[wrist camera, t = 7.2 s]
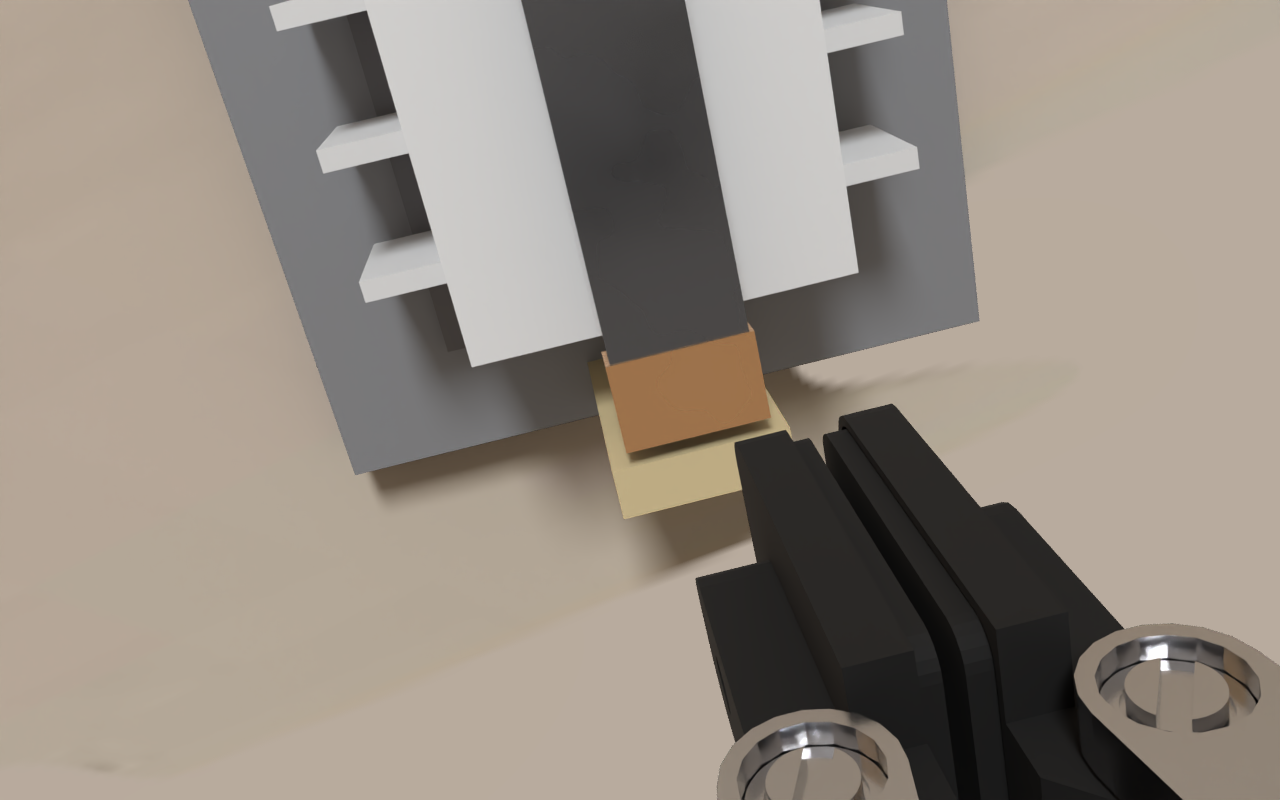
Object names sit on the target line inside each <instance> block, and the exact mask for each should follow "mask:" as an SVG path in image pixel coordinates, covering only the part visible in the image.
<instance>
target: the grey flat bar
mask: <svg viewBox="0 0 1280 800" xmlns="http://www.w3.org/2000/svg"><path fill="white" fill-rule="evenodd" d="M521 4H522V8H523V12H524V16H525V20H526V24H527V28H528V32H529V37H530V41H531V45H532V49H533V53H534V57H535V61H536V65H537V69H538V74H539V78H540V82H541V86H542V90H543V94H544V98H545V102H546V107H547V111H548V115H549V119H550V123H551V127H552V131H553V135H554V139H555V144H556V148H557V152H558V156H559V160H560V164H561V168H562V172H563V177H564V181H565V185H566V189H567V193H568V197H569V201H570V205H571V209H572V214H573V218H574V222H575V226H576V230H577V234H578V238H579V242H580V247H581V251H582V255H583V259H584V263H585V267H586V271H587V275H588V279H589V284H590V288H591V292H592V296H593V300H594V304H595V308H596V312H597V317H598V321H599V325H600V329H601V333H602V337H603V341H604V345H605V349H606V351H604V352H601V353H602V357H603V361H604V365H605V369H606V373H607V377H608V381H609V385H610V389H611V394H612V398H613V402H614V406H615V410H616V414H617V418H618V422H619V426H620V430H621V434H622V438H623V442H624V446H625V450H626V454H627V453H631V452H635V451H639V450H643V449H647V448H651V447H656V446H660V445H664V444H668V443H672V442H676V441H680V440H684V439H688V438H692V437H696V436H700V435H704V434H708V433H712V432H716V431H720V430H724V429H728V428H732V427H736V426H740V425H744V424H748V423H752V422H756V421H760V420H764V419H768V418H771V415H770V409H769V404H768V399H767V394H766V389H765V384H764V378H763V373H762V368H761V363H760V358H759V352H758V347H757V342H756V337H755V332H754V330H753V328H752V327H751V326H750V324H749V323H748V322H747V317H746V312H745V307H744V302H743V297H742V291H741V286H740V281H739V276H738V271H737V266H736V261H735V255H734V250H733V245H732V240H731V235H730V230H729V225H728V219H727V214H726V209H725V204H724V199H723V194H722V189H721V183H720V178H719V173H718V168H717V163H716V158H715V153H714V147H713V142H712V137H711V132H710V127H709V122H708V117H707V111H706V106H705V101H704V96H703V91H702V86H701V80H700V75H699V70H698V65H697V60H696V55H695V50H694V44H693V39H692V34H691V29H690V24H689V19H688V14H687V8H686V3H685V0H521Z"/></svg>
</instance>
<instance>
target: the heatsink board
mask: <svg viewBox="0 0 1280 800" xmlns="http://www.w3.org/2000/svg"><path fill="white" fill-rule="evenodd" d="M188 1H189V4H190V7H191V10H192V13H193V16H194V18H195V21H196V24H197V27H198V30H199V33H200V35H201V38H202V41H203V44H204V47H205V50H206V52H207V55H208V58H209V61H210V64H211V67H212V70H213V72H214V75H215V78H216V81H217V84H218V87H219V89H220V92H221V95H222V98H223V101H224V104H225V106H226V109H227V112H228V115H229V118H230V121H231V123H232V126H233V129H234V132H235V135H236V138H237V141H238V143H239V146H240V149H241V152H242V155H243V158H244V160H245V163H246V166H247V169H248V172H249V175H250V177H251V180H252V183H253V186H254V189H255V192H256V194H257V197H258V200H259V203H260V206H261V209H262V212H263V214H264V217H265V220H266V223H267V226H268V229H269V231H270V234H271V237H272V240H273V243H274V246H275V248H276V251H277V254H278V257H279V260H280V263H281V265H282V268H283V271H284V274H285V277H286V280H287V282H288V285H289V288H290V291H291V294H292V297H293V300H294V302H295V305H296V308H297V311H298V314H299V317H300V319H301V322H302V325H303V328H304V331H305V334H306V336H307V339H308V342H309V345H310V348H311V351H312V353H313V356H314V359H315V362H316V365H317V368H318V371H319V373H320V376H321V379H322V382H323V385H324V388H325V390H326V393H327V396H328V399H329V402H330V405H331V407H332V410H333V413H334V416H335V419H336V422H337V424H338V427H339V430H340V433H341V436H342V439H343V442H344V444H345V447H346V450H347V453H348V456H349V459H350V461H351V464H352V467H353V470H354V473H355V475H358V474H362V473H366V472H370V471H374V470H378V469H382V468H386V467H390V466H394V465H398V464H402V463H406V462H410V461H414V460H418V459H422V458H426V457H430V456H435V455H439V454H443V453H447V452H451V451H455V450H459V449H463V448H467V447H471V446H475V445H479V444H483V443H487V442H491V441H495V440H499V439H503V438H507V437H512V436H516V435H520V434H524V433H528V432H532V431H536V430H540V429H544V428H548V427H552V426H556V425H560V424H564V423H568V422H572V421H576V420H580V419H584V418H588V417H593V416H597V415H599V416H600V421H601V425H602V430H603V434H604V439H605V443H606V448H607V452H608V457H609V461H610V465H611V470H612V474H613V478H614V482H615V486H616V490H617V494H618V498H619V502H620V506H621V510H622V514H623V518H624V519H628V518H632V517H636V516H640V515H644V514H648V513H652V512H656V511H660V510H664V509H668V508H672V507H676V506H680V505H684V504H688V503H692V502H696V501H700V500H704V499H708V498H712V497H716V496H720V495H724V494H728V493H732V492H736V491H740V490H742V486H741V481H740V476H739V471H738V466H737V461H736V456H735V448H734V442H738V441H742V440H746V439H750V438H754V437H758V436H762V435H766V434H770V433H774V432H779V431H783V430H786V431H787V432H788V433H789V435H790V437H791V439H792V436H791V430H790V427H789V425H788V424H787V422H786V420H785V419H784V417H783V415H782V414H781V412H780V410H779V409H778V407H777V406H776V404H775V402H774V401H773V399H772V397H771V396H770V394H769V392H768V391H767V389H766V388H765V389H766V394H767V399H768V404H769V409H770V415H771V418H768V419H764V420H760V421H756V422H752V423H748V424H744V425H740V426H736V427H732V428H728V429H724V430H720V431H716V432H712V433H708V434H704V435H700V436H696V437H692V438H688V439H684V440H680V441H676V442H672V443H668V444H664V445H660V446H656V447H651V448H647V449H643V450H639V451H635V452H631V453H627V454H626V450H625V446H624V442H623V438H622V434H621V430H620V426H619V422H618V418H617V414H616V410H615V406H614V402H613V398H612V394H611V389H610V385H609V381H608V377H607V373H606V369H605V365H604V361H603V357H602V353H601V352H604V351H606V349H605V345H604V341H603V337H602V333H601V329H600V325H599V321H598V317H597V312H596V308H595V304H594V300H593V296H592V292H591V288H590V284H589V279H588V275H587V271H586V267H585V263H584V259H583V255H582V251H581V247H580V242H579V238H578V234H577V230H576V226H575V222H574V218H573V214H572V209H571V205H570V201H569V197H568V193H567V189H566V185H565V181H564V177H563V172H562V168H561V164H560V160H559V156H558V152H557V148H556V144H555V139H554V135H553V131H552V127H551V123H550V119H549V115H548V111H547V107H546V102H545V98H544V94H543V90H542V86H541V82H540V78H539V74H538V69H537V65H536V61H535V57H534V53H533V49H532V45H531V41H530V37H529V32H528V28H527V24H526V20H525V16H524V12H523V8H522V4H521V0H188ZM685 3H686V8H687V14H688V19H689V24H690V29H691V34H692V39H693V44H694V50H695V55H696V60H697V65H698V70H699V75H700V80H701V86H702V91H703V96H704V101H705V106H706V111H707V117H708V122H709V127H710V132H711V137H712V142H713V147H714V153H715V158H716V163H717V168H718V173H719V178H720V183H721V189H722V194H723V199H724V204H725V209H726V214H727V219H728V225H729V230H730V235H731V240H732V245H733V250H734V255H735V261H736V266H737V271H738V276H739V281H740V286H741V291H742V297H743V302H744V307H745V312H746V317H747V322H748V323H749V324H750V326H751V327H752V328H753V330H754V332H755V337H756V342H757V347H758V352H759V358H760V363H761V368H762V373H763V374H767V373H771V372H775V371H779V370H783V369H787V368H791V367H795V366H799V365H803V364H807V363H811V362H815V361H819V360H823V359H827V358H831V357H835V356H839V355H844V354H848V353H852V352H856V351H860V350H864V349H868V348H872V347H876V346H880V345H884V344H888V343H892V342H896V341H900V340H904V339H908V338H912V337H916V336H921V335H924V334H929V333H933V332H937V331H941V330H945V329H949V328H953V327H957V326H961V325H965V324H969V323H973V322H977V321H979V312H978V303H977V293H976V283H975V273H974V263H973V254H972V244H971V234H970V225H969V214H968V205H967V195H966V185H965V175H964V165H963V155H962V145H961V136H960V126H959V116H958V106H957V96H956V86H955V77H954V67H953V57H952V47H951V37H950V27H949V18H948V8H947V0H685Z"/></svg>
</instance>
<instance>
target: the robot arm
mask: <svg viewBox="0 0 1280 800" xmlns="http://www.w3.org/2000/svg"><path fill="white" fill-rule="evenodd" d="M823 446H824V453H825V459H826V464H825V462H824V461H823V459H822V457H821V456H820V454H819V453H818V451H817V449H816V448H815V446H814V444H813V443H812V441H811V440H810V439H809V438H808V439H803V440H799V441H795V442H793V440H792V439H791V437H790V435H789V433H788V432H787V431H786V430H783V431H779V432H774V433H770V434H766V435H762V436H758V437H754V438H750V439H746V440H742V441H738V442H734V448H735V456H736V461H737V466H738V471H739V476H740V481H741V486H742V491H743V496H744V501H745V506H746V511H747V516H748V521H749V526H750V531H751V536H752V541H753V546H754V551H755V556H756V560H757V563H755V564H751V565H747V566H743V567H739V568H734V569H730V570H727V571H723V572H719V573H714V574H710V575H706V576H702V577H698V578H696V585H697V590H698V595H699V599H700V604H701V609H702V613H703V617H704V622H705V626H706V630H707V635H708V639H709V644H710V648H711V652H712V656H713V661H714V665H715V669H716V673H717V676H718V680H719V684H720V688H721V692H722V696H723V700H724V704H725V707H726V711H727V715H728V718H729V721H730V725H731V729H732V732H733V736H734V739H735V744H734V745H733V746H732V747H731V749H730V750H729V752H728V754H727V755H726V757H725V759H724V760H723V762H722V764H721V765H720V771H719V777H718V782H717V800H1280V666H1279V665H1278V664H1276V663H1275V662H1274V661H1272V660H1271V659H1269V658H1268V657H1266V656H1265V655H1264V654H1262V653H1261V652H1260V651H1258V650H1256V649H1255V648H1253V647H1251V646H1249V645H1247V644H1245V643H1244V642H1242V641H1240V640H1238V639H1236V638H1234V637H1233V636H1230V635H1226V634H1223V633H1220V632H1217V631H1213V630H1210V629H1207V628H1204V627H1196V626H1188V625H1180V624H1173V623H1171V624H1153V625H1152V624H1150V625H1140V626H1136V627H1131V628H1127V629H1124V628H1123V627H1122V626H1121V625H1120V624H1119V623H1118V621H1117V620H1116V619H1115V618H1114V617H1113V616H1112V615H1111V614H1110V613H1109V612H1108V610H1107V609H1106V608H1105V607H1104V606H1103V605H1102V604H1101V603H1100V601H1099V600H1098V599H1097V598H1096V597H1095V596H1094V595H1093V594H1092V593H1091V592H1090V590H1089V589H1088V588H1087V587H1086V586H1085V585H1084V584H1083V583H1082V582H1081V580H1080V579H1079V578H1078V577H1077V576H1076V575H1075V574H1074V573H1073V572H1072V570H1071V569H1070V568H1069V567H1068V566H1067V565H1066V564H1065V563H1064V562H1063V561H1062V559H1061V558H1060V557H1059V556H1058V555H1057V554H1056V553H1055V552H1054V550H1053V549H1052V548H1051V547H1050V546H1049V545H1048V544H1047V543H1046V542H1045V540H1044V539H1043V538H1042V537H1041V536H1040V535H1039V534H1038V533H1037V532H1036V530H1035V529H1034V528H1033V527H1032V526H1031V525H1030V524H1029V523H1028V522H1027V520H1026V519H1025V518H1024V517H1023V516H1022V515H1021V514H1020V513H1019V512H1018V511H1017V509H1015V508H1014V507H1013V506H1012V505H1011V504H1009V503H1004V502H1001V503H997V504H993V505H989V506H985V507H980V506H979V505H978V504H977V503H976V502H975V500H974V499H973V498H972V497H971V496H970V494H969V493H968V492H967V491H966V490H965V489H964V487H963V486H962V485H961V484H960V482H959V481H958V480H957V479H956V478H955V477H954V475H953V474H952V473H951V472H950V471H949V470H948V468H947V467H946V466H945V465H944V463H943V462H942V461H941V460H940V459H939V458H938V456H937V455H936V454H935V453H934V452H933V450H932V449H931V448H930V447H929V446H928V444H927V443H926V442H925V441H924V440H923V439H922V437H921V436H920V435H919V434H918V433H917V431H916V430H915V429H914V428H913V427H912V425H911V424H910V423H909V422H908V421H907V419H906V418H905V417H904V416H903V415H902V414H901V412H900V411H899V410H898V409H897V408H896V407H895V406H894V405H893V404H889V405H885V406H880V407H876V408H872V409H868V410H864V411H860V412H856V413H852V414H848V415H844V416H840V418H839V431H836V432H832V433H828V434H824V436H823ZM826 465H827V466H826Z"/></svg>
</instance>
